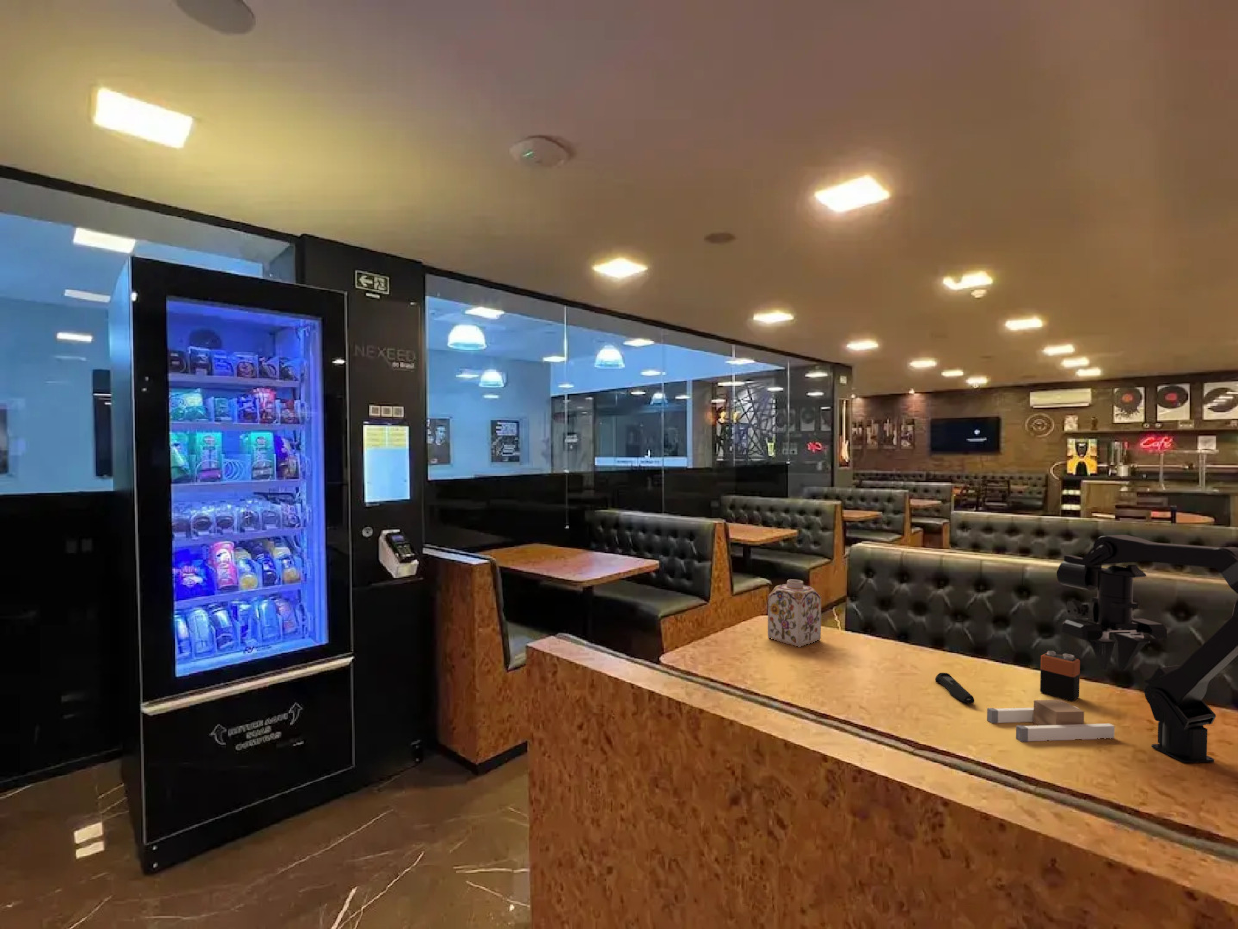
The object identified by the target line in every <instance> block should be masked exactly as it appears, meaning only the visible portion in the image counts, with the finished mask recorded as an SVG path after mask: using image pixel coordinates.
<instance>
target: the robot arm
mask: <svg viewBox="0 0 1238 929" xmlns="http://www.w3.org/2000/svg"><path fill="white" fill-rule="evenodd" d="M1093 542H1094V543H1093V547H1092V548H1091V549H1089V551H1088V552H1087V553H1086V554H1085V555H1084V556H1083V557H1080V556H1077V555H1072V554H1069V555H1068V554H1067V555H1064V556H1063V561H1062V562H1061V563H1060V564H1059V566H1058V569H1057V570H1056V578H1057V580H1058V582H1059V584H1061V585H1063V586H1068V587H1070V588H1071V587H1072V588H1076V589H1082V590H1087V591H1095V589H1097V594H1096V595H1097V596H1095V597H1094V596H1093V597H1091V599H1090V603H1089V604H1087V603H1086V604H1085V603H1082V602H1081V601H1080V600H1068V601H1067V602H1066V612H1067V615H1068V616H1070V617H1074V618H1073V619H1065V620H1064V621H1063V622H1062V627H1061V628H1062V630H1061V631H1062V633H1064V634H1066V635H1069V636H1073V637H1075V638H1078V639H1081V640H1085V641H1088V643H1089V645H1090V646H1091V649H1092V650H1093V654H1094V656H1095V658H1096V662H1098V663H1097V664H1098V666H1099V669H1100V670H1101V671H1103V672H1107V671H1108V669H1109V665H1110V663H1111V658H1112V655H1113V651H1114V647H1115V642H1116V641H1117V662H1118V663H1117V664H1118V669H1119V670H1120V671H1126V670H1127V669H1128V668H1129V666H1130V664H1131V663H1132V662H1133V660H1134V659H1135V657H1136V656H1137V655H1138V654H1139V652H1140V651H1141V650H1142V649H1143V648H1144V647H1145V646H1146V645H1147V644H1150V643H1151V640H1150V639H1147V638H1145V636H1144V634H1149V636H1150V637H1151V638H1152V639H1155V640H1167V638H1168V629H1167V628H1166V626H1165V625H1164V624H1163V623H1160V622H1157V621H1153V620H1149V619H1146V618H1133V609H1138V608H1139V603H1138V602H1134V601H1133V600H1134V599H1133V598H1134V595H1133V594H1134V579H1135V578H1136V579H1137V578H1146V576H1147V573H1145V572H1144V571H1143V570H1142V569H1140V568H1139V567H1138V565H1137V564H1128V565H1127V566H1120V565H1116V564H1125V563H1140V562H1149V563H1150V562H1151V563H1159V564H1160V563H1161V564H1168V565H1170V564H1171V565H1178V566H1179V565H1180V566H1189V567H1198V568H1200V567H1201V568H1209V569H1210V568H1211V569H1215V570H1216V571H1218V572H1219V573H1220V574H1221V576H1222V577H1223V578H1224V580H1225V582H1226V583H1227V585H1228V586H1229V587H1230V588H1231V589H1232V590H1233V592H1235V593H1236V594H1237V595H1238V547H1235V546H1228V547H1220V546H1219V547H1218V546H1206V545H1193V544H1190V545H1189V544H1180V543H1179V544H1176V543H1164V542H1163V543H1162V542H1155V541H1150V540H1148V539H1145V538H1141V537H1137V536H1132V535H1129V534H1115V535H1114V534H1113V535H1112V534H1111V535H1109V534H1108V535H1101V536H1099V537H1097V539H1096V540H1094V541H1093ZM1106 565H1107V566H1108V565H1109V566H1108V567H1107V568H1106V567H1103V566H1106ZM1110 634H1113V636H1114V638H1115V640H1116V641H1115V640H1111V639H1110ZM1237 656H1238V598H1237V599H1236V600H1235V601H1234V605H1233V610H1232V615H1231V616H1230V618H1228V619H1227V620H1226V621H1225V622H1224V623H1223V624H1222V625H1221V626H1220V627H1219V628H1218V629H1217V630H1216V631H1215V632H1214V633H1213V634H1212V635H1210V637H1209V638H1207V640H1206V641H1204V642H1203V644H1201V646H1200V647H1199V648H1197V650H1195V651H1194V652H1193V653H1192V654H1190V656H1189V657H1188V658H1187V659H1186V660H1185V661H1184V662H1183V663H1182V664H1181V665H1178V664H1175V665H1169V666H1163V667H1158V668H1157V669H1156V670H1155V671H1154V673H1153V674H1152V676H1151V677H1149V678H1148V679H1145V680H1144V683H1146V685H1145V686H1144V687H1143V691H1142V692H1143V693H1144V696H1145V699H1146V702H1147V703H1148V704H1149V707H1150V710H1151V712H1152V716H1153V719H1154V720H1155V721H1156V722H1157V743H1152V744H1151V748H1152V749H1153V748H1154V749H1155V750H1157V751H1159V752H1161V753H1162V754H1164V755H1167V756H1168V757H1170V758H1173V759H1175V760H1177V761H1178V762H1180V763H1184V764H1188V763H1189V764H1191V763H1192V764H1193V763H1195V764H1196V763H1214V762H1215V758H1213V757H1211V756H1209V755H1208V753H1207V752H1208V728H1206V727H1205V725H1212V724H1213V722H1215V719H1216V717H1217V716H1216V714H1215V712H1214V711H1213V710H1212V709H1211V708H1210V706H1208V704H1207V703H1206V702H1205V701H1204V700H1203V698H1204V697H1205V695H1206V693H1207V691H1208V686H1209V682H1210V681H1211V680H1212V679H1214V677H1215V676H1217V675H1218V674H1219V673H1220V672H1221V671H1223V669H1225V667H1227V665H1228V664H1230V663H1232V661H1233V660H1234V659H1235V658H1236V657H1237Z"/></svg>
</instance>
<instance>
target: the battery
mask: <svg viewBox="0 0 1238 929" xmlns="http://www.w3.org/2000/svg"><path fill="white" fill-rule="evenodd" d="M1080 669H1081V660H1080V659H1079V658H1076V657H1075V655H1073V654H1069V653H1063V654H1058V653H1056V651H1054V650H1047V652H1046V653H1044V654H1042V655H1040V672H1039V673H1040V675H1039V676H1040V678H1039V680H1040V684H1039V687H1040V688H1039V691H1040V693H1041V694H1044V693H1045V695H1047V694H1048V696H1051V695H1052V696H1053V697H1055V698H1058V697H1059V699H1061V700H1062V699H1063V700H1066V699H1067V700H1066V701H1069V700H1070V702H1074V701H1075V700H1077V699H1078V698H1079V697H1080V681H1081V680H1080V676H1081V670H1080ZM1052 696H1051V697H1052Z"/></svg>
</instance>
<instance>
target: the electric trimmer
mask: <svg viewBox="0 0 1238 929" xmlns="http://www.w3.org/2000/svg"><path fill="white" fill-rule="evenodd" d="M934 679H935V680H934V681H935V683H936V682H938V684H941V685H942V686H943V687H944V688H945V689H947V691H948V693H949V694H950V695H951V696H953V698H956V699H957V700H959V701H961V702H963V703H966V704H974V703H975V698H974V696H973V695H972V693H970V692H968V691H967V690H966V689H965V688H964V687H963V686H962V685H961V684H960V683H959V681H957V680H956V679H955V678H954V677H952V675H951V674H950V673H948V672H939V673H938V674H937V675H936V676H935V677H934Z"/></svg>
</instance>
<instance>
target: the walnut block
mask: <svg viewBox="0 0 1238 929" xmlns="http://www.w3.org/2000/svg"><path fill="white" fill-rule="evenodd" d="M1076 707H1077V706H1075V707H1074V705H1072V704H1070V703H1068V702H1066V701H1064V700H1062V699H1034V700H1033V708H1034V714H1033V722H1032V723H1033V725H1035V726H1037V725H1038V726H1040V725H1074V724H1085V711H1084V710H1082V709H1080V708H1079V707H1077V708H1076ZM1078 708H1079V709H1078Z"/></svg>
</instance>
